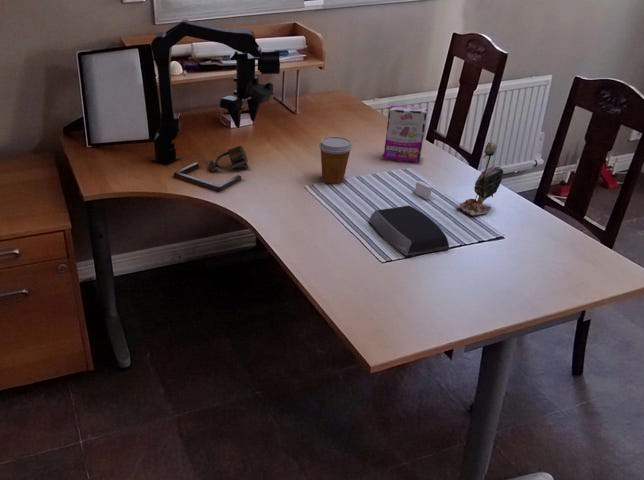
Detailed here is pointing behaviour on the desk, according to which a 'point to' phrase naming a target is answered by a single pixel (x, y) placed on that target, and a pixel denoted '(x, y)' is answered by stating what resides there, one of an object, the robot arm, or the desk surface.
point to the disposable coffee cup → (334, 158)
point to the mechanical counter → (236, 157)
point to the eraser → (423, 190)
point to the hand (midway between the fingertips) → (245, 124)
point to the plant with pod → (484, 185)
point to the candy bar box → (405, 133)
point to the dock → (182, 175)
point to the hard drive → (409, 230)
